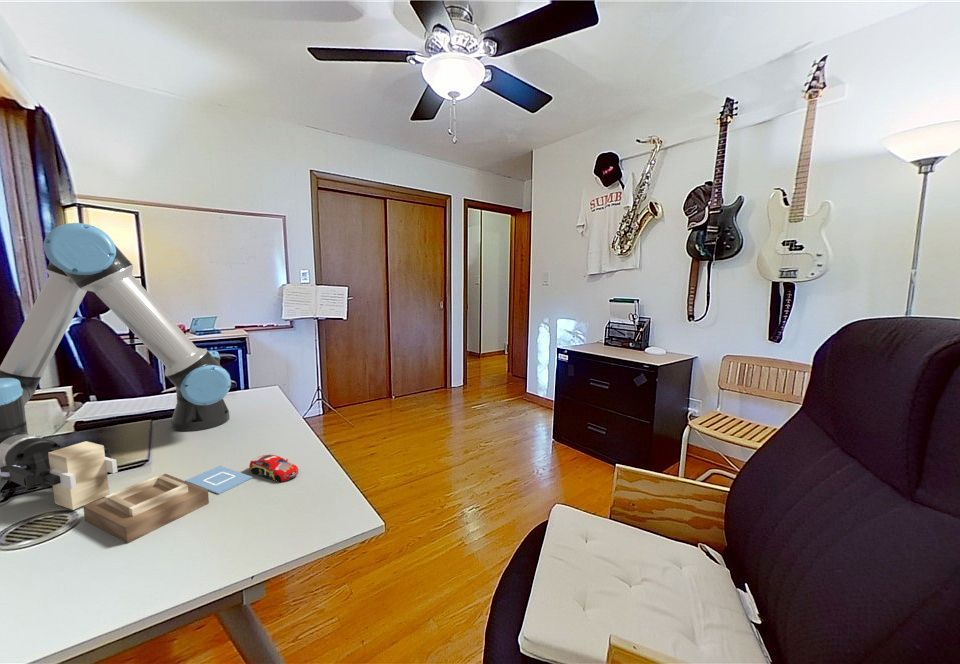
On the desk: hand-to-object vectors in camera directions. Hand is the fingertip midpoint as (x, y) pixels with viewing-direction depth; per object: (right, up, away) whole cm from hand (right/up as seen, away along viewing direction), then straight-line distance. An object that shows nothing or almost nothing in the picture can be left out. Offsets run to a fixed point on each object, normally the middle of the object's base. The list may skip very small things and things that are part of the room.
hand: (94, 473), depth 79 cm
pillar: (-5, -6, +3) cm, 8 cm away
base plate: (+11, -8, 0) cm, 14 cm away
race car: (+28, -6, +16) cm, 33 cm away
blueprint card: (+17, -6, +13) cm, 22 cm away
